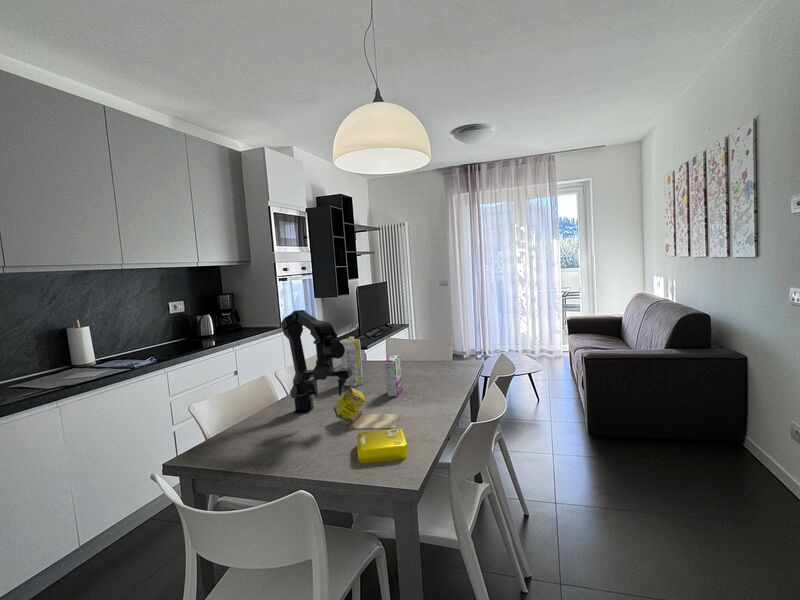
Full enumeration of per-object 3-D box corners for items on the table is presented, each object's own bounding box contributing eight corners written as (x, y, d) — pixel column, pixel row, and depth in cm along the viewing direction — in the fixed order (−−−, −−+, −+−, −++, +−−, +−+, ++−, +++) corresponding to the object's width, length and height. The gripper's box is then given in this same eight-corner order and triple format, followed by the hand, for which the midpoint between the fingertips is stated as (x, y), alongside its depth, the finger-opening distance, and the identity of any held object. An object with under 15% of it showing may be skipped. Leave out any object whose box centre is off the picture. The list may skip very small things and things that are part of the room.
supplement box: (336, 417, 160) (354, 394, 159) (333, 407, 165) (350, 385, 164) (348, 423, 163) (366, 401, 162) (345, 413, 168) (362, 392, 167)
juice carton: (365, 383, 217) (361, 336, 216) (355, 387, 211) (351, 338, 209) (350, 381, 222) (347, 335, 221) (340, 385, 216) (337, 338, 214)
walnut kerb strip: (346, 430, 155) (345, 426, 155) (357, 414, 171) (357, 411, 171) (351, 430, 155) (351, 426, 155) (362, 414, 171) (361, 410, 171)
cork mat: (350, 429, 156) (350, 428, 156) (360, 415, 170) (360, 414, 170) (394, 428, 154) (394, 427, 154) (400, 415, 167) (400, 414, 167)
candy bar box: (392, 389, 203) (389, 355, 202) (402, 389, 202) (400, 355, 201) (386, 397, 192) (384, 360, 191) (397, 396, 191) (395, 360, 190)
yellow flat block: (357, 445, 143) (356, 431, 142) (402, 440, 144) (401, 426, 144) (358, 465, 128) (357, 449, 128) (408, 459, 130) (407, 444, 129)
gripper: (292, 361, 156) (296, 403, 157) (342, 359, 153) (346, 402, 154) (304, 355, 167) (308, 395, 168) (350, 353, 164) (354, 393, 165)
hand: (328, 396), depth 164 cm, fingers open, 9 cm apart
